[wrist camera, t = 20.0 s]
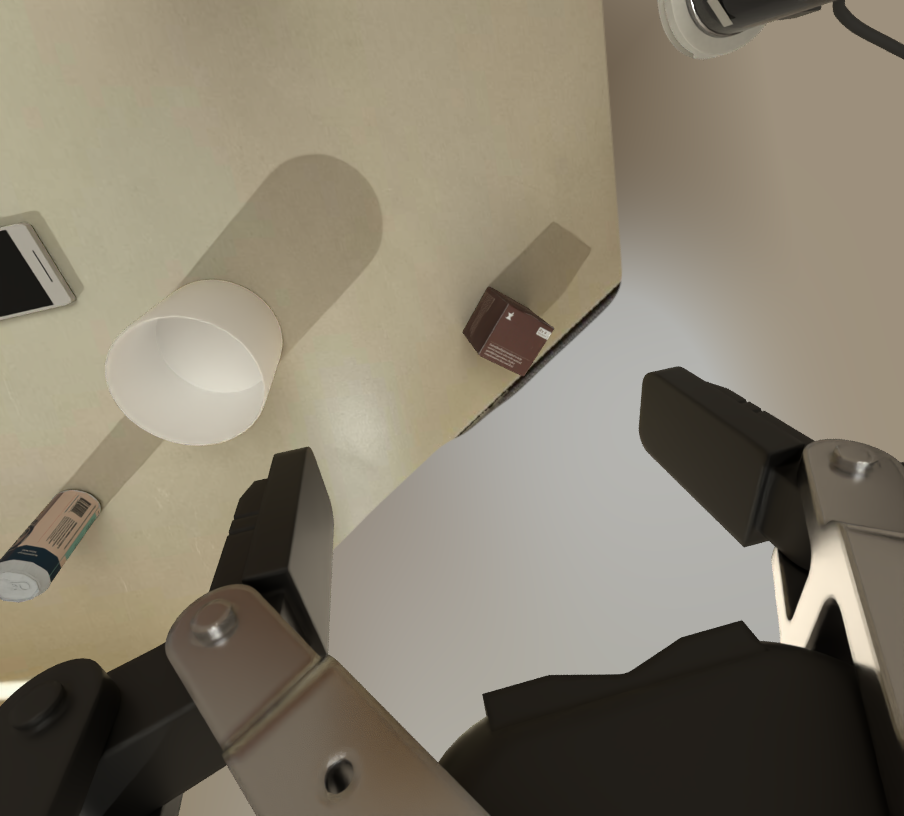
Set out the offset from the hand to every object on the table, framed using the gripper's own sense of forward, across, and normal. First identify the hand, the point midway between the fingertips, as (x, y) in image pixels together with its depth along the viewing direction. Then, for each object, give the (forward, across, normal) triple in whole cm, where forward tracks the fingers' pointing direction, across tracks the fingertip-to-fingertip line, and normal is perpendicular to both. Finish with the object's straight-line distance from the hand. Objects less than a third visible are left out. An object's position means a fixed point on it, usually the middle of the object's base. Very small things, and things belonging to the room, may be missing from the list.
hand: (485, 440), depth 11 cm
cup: (+40, +18, +8) cm, 45 cm away
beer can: (+40, +40, +23) cm, 61 cm away
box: (+40, -11, +12) cm, 43 cm away
